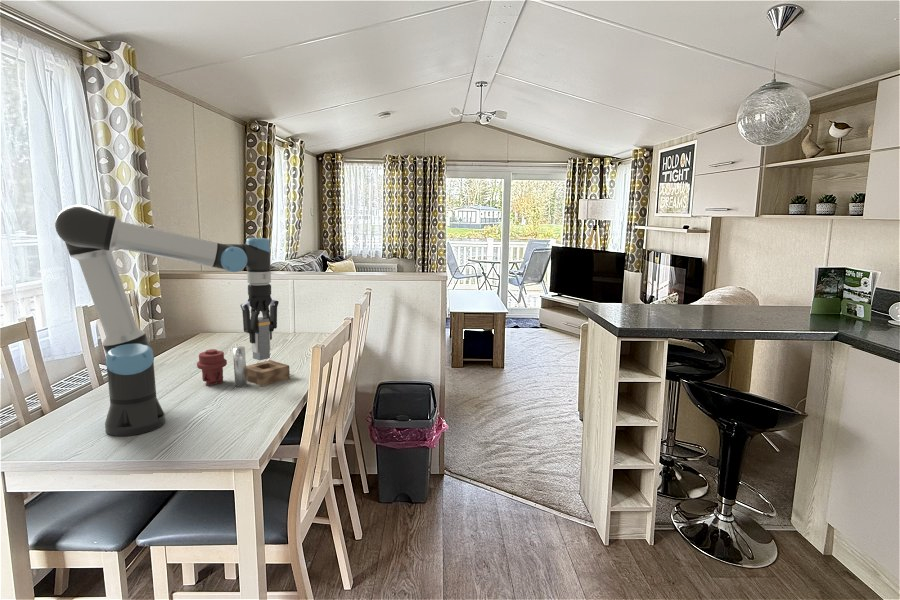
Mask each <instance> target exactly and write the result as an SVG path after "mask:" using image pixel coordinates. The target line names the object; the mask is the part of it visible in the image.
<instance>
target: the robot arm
mask: <svg viewBox="0 0 900 600" xmlns="http://www.w3.org/2000/svg"><path fill="white" fill-rule="evenodd" d="M54 227H55V231H56V234H57V235H58V236H59V238H60V239H61V240H62V241H63V242H64V243H65V246H66V249H67V251H68V254H69V256H70V257H71V258H73V259H74V260H77V261H78V264H79V266H80V269H81V271H82V274H83V277H84V280H85V283H86V285H87V288H88V291H89V293H90V296H91V299H92V301H93V305H94V307H95V310H96V313H97V315H98V319H99V321H100V323H101V327H102V329H103V332H104V335H105V338H104V340H103V342H102V347H103V350H104V352H105V367H106V373H107V375H106V376H107V384H108V393H109V403H110V404H109V407H108V410H107V411H108V412H107V415H106V419H105V422H104V429H105V433H106V434H107V435H109V436H114V437H117V436H118V437H127V436H135V435H136V436H137V435H142V434H145V433H148V432H149V433H150V432H152V431H154V430H157V429H158V428H160V427H162V426H163V425H164V424H165V423H166V415H165V414H166V413H165V412H164V409H163V408H162V406H161V404H160V402H159V400H158V397H157V387H156V376H155V375H156V374H155V363H154V361H155V356H154V351H153V348H152V347H151V345H150V343H149V341H148V338H147V334H146V331H145V330H142V329H141V328H139V327H138V325H137V322H136V320H135V317H134V314H133V310H132V309H131V306H130V302H129V299H128V296H127V293H126V291H125V288H124V285H123V282H122V279H121V276H120V273H119V271H118V267H117V264H116V261H115V259H114V256H113V252H114V250H115V249H119V250H124V251H128V252H129V251H130V252H134V253H139V254H143V255H144V254H145V255H149V256H155V257H159V258H160V257H161V258H164V259H170V260H174V261H175V260H176V261H180V262H186V263H190V264H196V265H201V266H206V267H211V268H216V269H220V270H225V271H227V272H230V273H237V272H241V271H242V270H243V269H245V268H247V269H246V270H247V271H246V272H247V274H246V275H247V281H246V282H247V283H248V284H247V296H248V299H247V301H246V302H245V303H241V304H240V308H241V311H242V312H241V313H242V324H243V332H244V333H247V334H248V335H249V343H250V344H251V352H252V353H253V352H255V353H258V334H256V328H257V320H258V318H259V316H260V313H261V315H262V317H263V318H268V319H269V321H270V324H269V341H270V342H271V340H273V332H274V331H275V329H277V327H278V306H279V300H275V299H272V296H271V295H272V284H271V282H272V272H271V271H272V270H271V268H272V267H271V266H272V265H271V263H272V262H271V261H272V260H271V252H272V251H271V243H270V242H271V241H270V239H268V238H265V237H248V238H246V241H245V243H241V244H239V243H235V244H233V243H219V242H216V241H211V240H206V239H203V238H196V237H194V236H188V235H183V234H179V233H174V232H169V231H165V230H161V229H158V228H157V229H156V228H152V227H147V226H144V225H138V224H134V223H131V222H125V221H122V220H121V219H120V218H119V217H118V216H116V215H115V216H114V215H110V214H107V213H104V212H102V210H101V209H99V208H97V207H94V206H93V205H88V204H74V205H70V206H67V207H65V208H63V209H62V210H60V212H59V213H58V214H57V216H56V217H55V221H54Z"/></svg>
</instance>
